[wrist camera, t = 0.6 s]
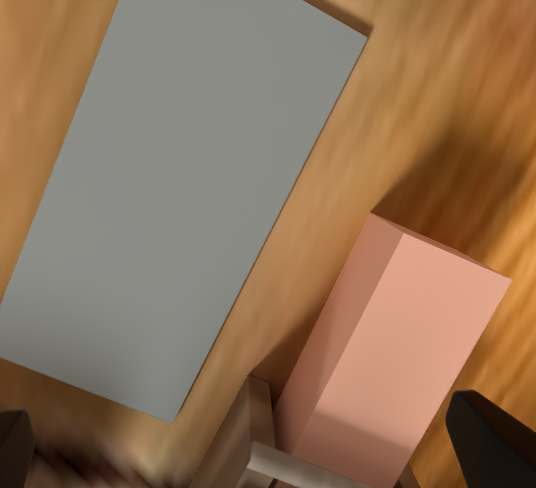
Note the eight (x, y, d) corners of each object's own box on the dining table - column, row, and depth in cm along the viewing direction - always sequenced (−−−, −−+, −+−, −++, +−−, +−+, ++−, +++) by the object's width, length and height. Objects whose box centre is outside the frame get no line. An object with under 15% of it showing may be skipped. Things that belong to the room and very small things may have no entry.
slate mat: (364, 40, 20) (368, 37, 19) (173, 417, 24) (172, 423, 23) (154, -81, 18) (152, -87, 18) (-12, 346, 22) (-18, 350, 22)
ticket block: (454, 248, 23) (512, 279, 18) (315, 507, 26) (332, 593, 21) (368, 211, 22) (404, 233, 17) (236, 482, 25) (235, 565, 20)
